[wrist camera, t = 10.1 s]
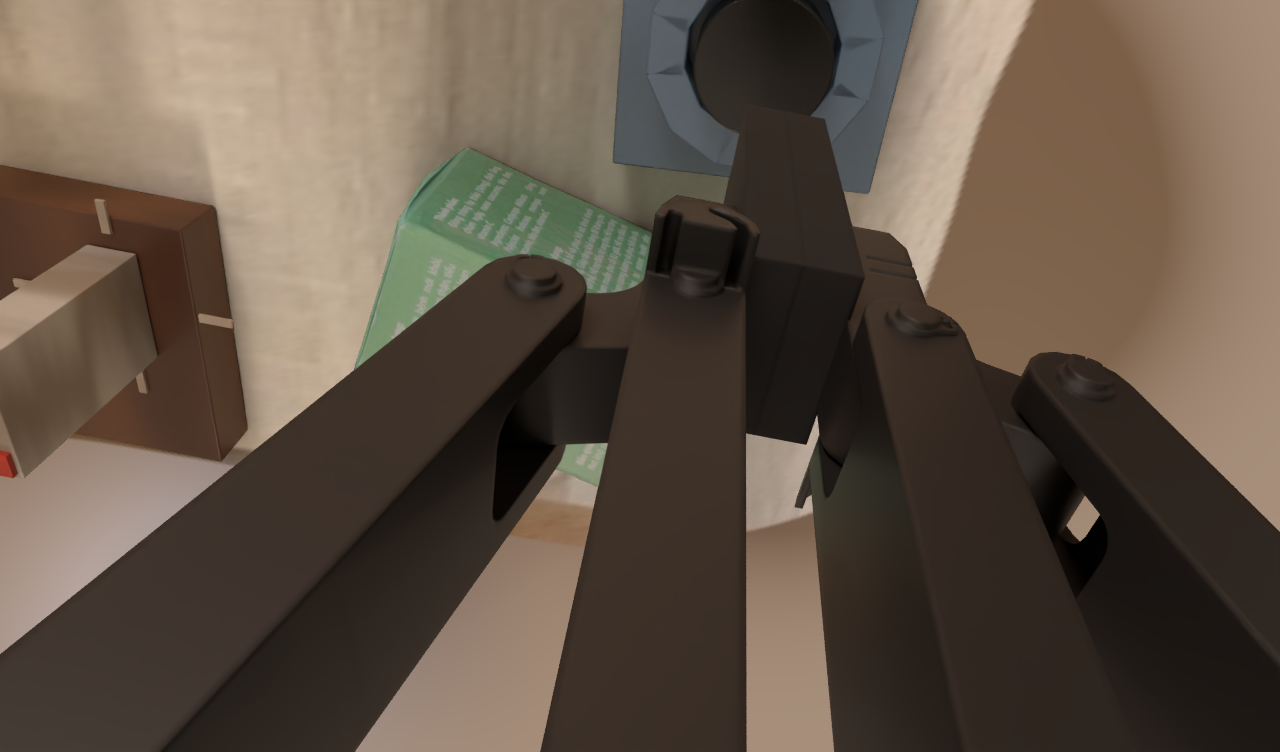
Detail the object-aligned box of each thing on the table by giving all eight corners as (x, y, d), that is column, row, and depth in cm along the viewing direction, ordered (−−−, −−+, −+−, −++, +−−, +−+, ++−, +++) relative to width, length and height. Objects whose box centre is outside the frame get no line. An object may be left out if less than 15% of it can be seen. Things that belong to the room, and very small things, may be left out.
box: (456, 136, 31) (386, 216, 25) (773, 281, 33) (778, 388, 27) (408, 289, 35) (337, 390, 29) (693, 410, 37) (682, 528, 31)
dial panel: (251, 197, 34) (216, 223, 32) (280, 436, 41) (253, 471, 39) (-172, 116, 34) (-236, 136, 32) (-69, 369, 41) (-115, 400, 39)
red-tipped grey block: (86, 244, 33) (-86, 354, 26) (136, 253, 33) (-24, 366, 26) (112, 348, 36) (-37, 472, 29) (158, 357, 36) (19, 483, 29)
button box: (862, 172, 30) (875, 215, 27) (619, 143, 31) (604, 182, 28) (931, -110, 25) (958, -99, 22) (640, -140, 26) (624, -134, 22)
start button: (814, 126, 26) (818, 145, 25) (688, 112, 26) (685, 129, 25) (842, -10, 24) (848, 1, 22) (705, -26, 24) (702, -16, 23)
